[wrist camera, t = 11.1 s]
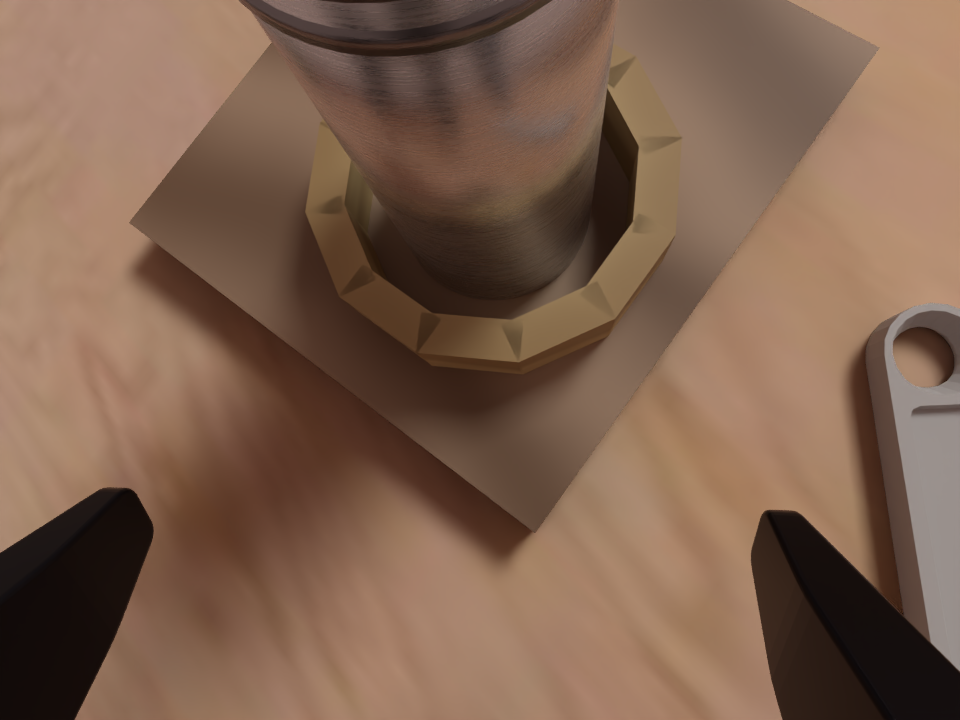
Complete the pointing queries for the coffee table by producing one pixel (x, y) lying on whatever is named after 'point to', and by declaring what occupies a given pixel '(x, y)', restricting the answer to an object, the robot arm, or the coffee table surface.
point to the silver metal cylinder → (463, 122)
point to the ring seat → (549, 310)
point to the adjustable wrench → (921, 475)
